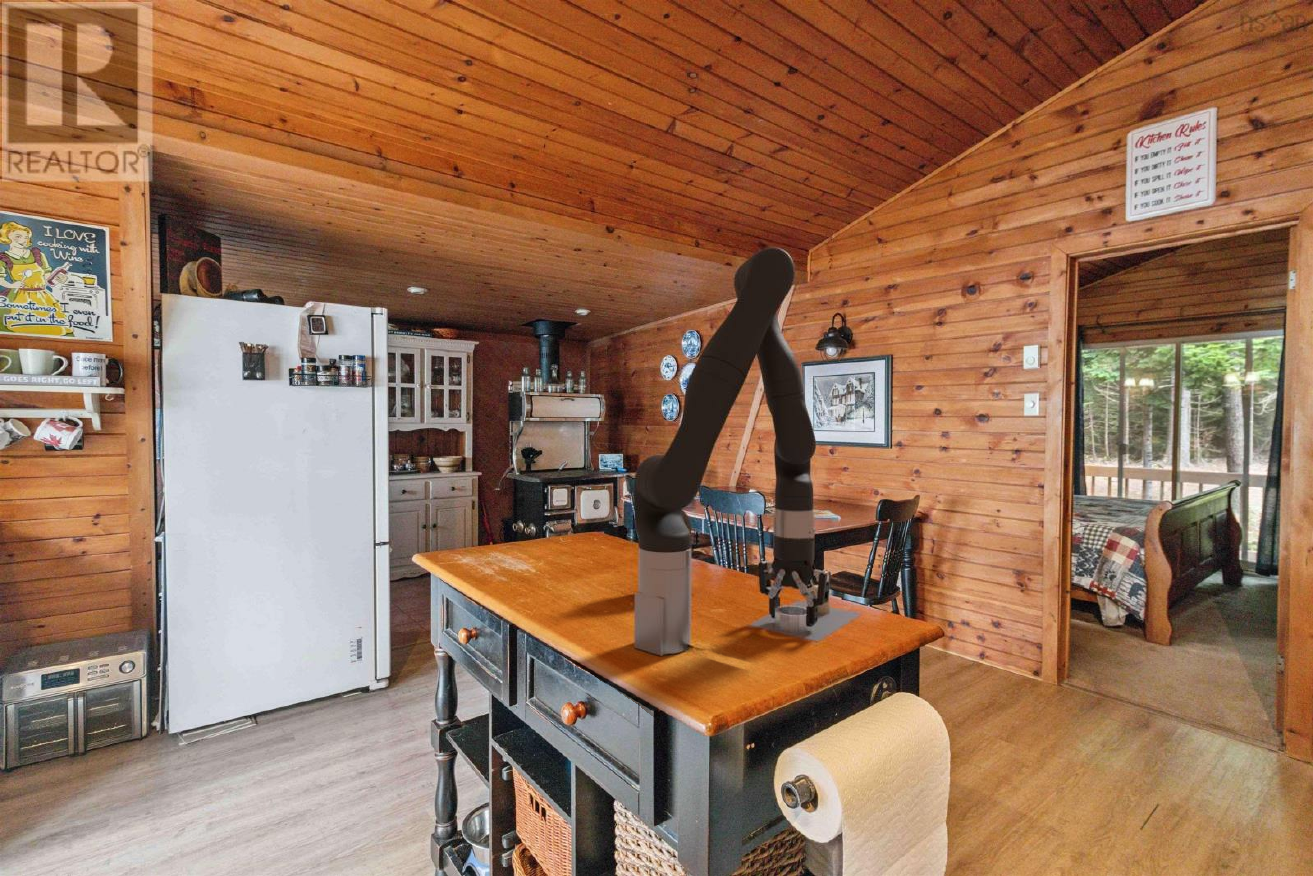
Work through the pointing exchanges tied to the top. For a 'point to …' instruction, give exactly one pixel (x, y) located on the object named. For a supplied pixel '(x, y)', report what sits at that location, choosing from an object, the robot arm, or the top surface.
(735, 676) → the top surface
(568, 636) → the top surface
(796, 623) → the steel ring
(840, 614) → the fitting plate
